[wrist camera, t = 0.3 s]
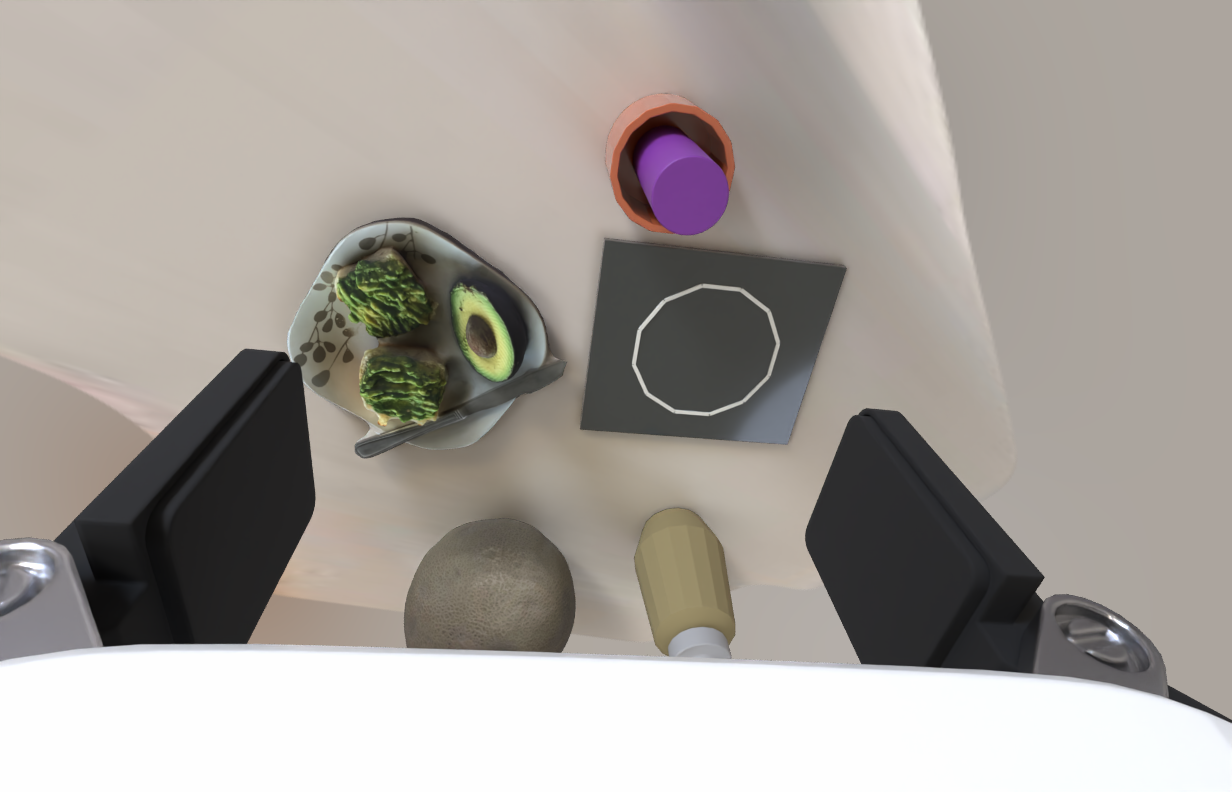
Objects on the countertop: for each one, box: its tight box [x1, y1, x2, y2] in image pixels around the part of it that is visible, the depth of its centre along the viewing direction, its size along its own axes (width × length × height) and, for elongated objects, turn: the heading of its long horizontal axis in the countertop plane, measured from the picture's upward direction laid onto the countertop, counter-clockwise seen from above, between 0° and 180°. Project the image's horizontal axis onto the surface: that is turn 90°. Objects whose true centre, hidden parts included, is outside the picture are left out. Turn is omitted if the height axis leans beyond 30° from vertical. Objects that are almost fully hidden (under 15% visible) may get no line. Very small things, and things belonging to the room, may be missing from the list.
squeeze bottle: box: [634, 508, 735, 659], centre depth 52 cm, size 8×8×18 cm
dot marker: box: [633, 125, 729, 235], centre depth 37 cm, size 4×4×11 cm
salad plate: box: [287, 218, 567, 458], centre depth 46 cm, size 19×18×5 cm
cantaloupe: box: [404, 518, 575, 653], centre depth 52 cm, size 14×14×15 cm
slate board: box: [580, 238, 847, 445], centre depth 49 cm, size 16×18×1 cm
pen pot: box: [605, 94, 735, 234], centre depth 39 cm, size 7×7×6 cm
